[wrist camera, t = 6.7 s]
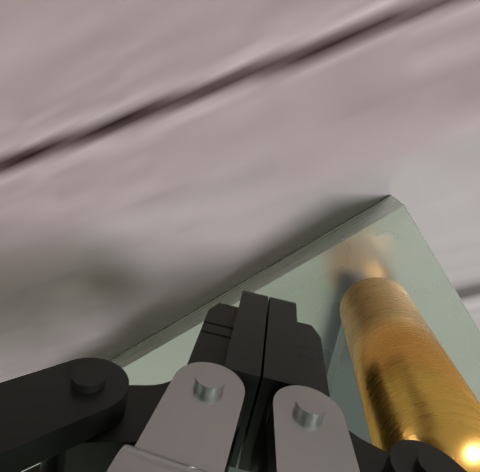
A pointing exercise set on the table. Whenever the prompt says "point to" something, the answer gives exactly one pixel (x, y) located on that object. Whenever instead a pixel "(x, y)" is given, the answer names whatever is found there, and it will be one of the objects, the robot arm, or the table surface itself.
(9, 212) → the table surface
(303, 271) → the base plate
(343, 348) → the chuck with crank handle
